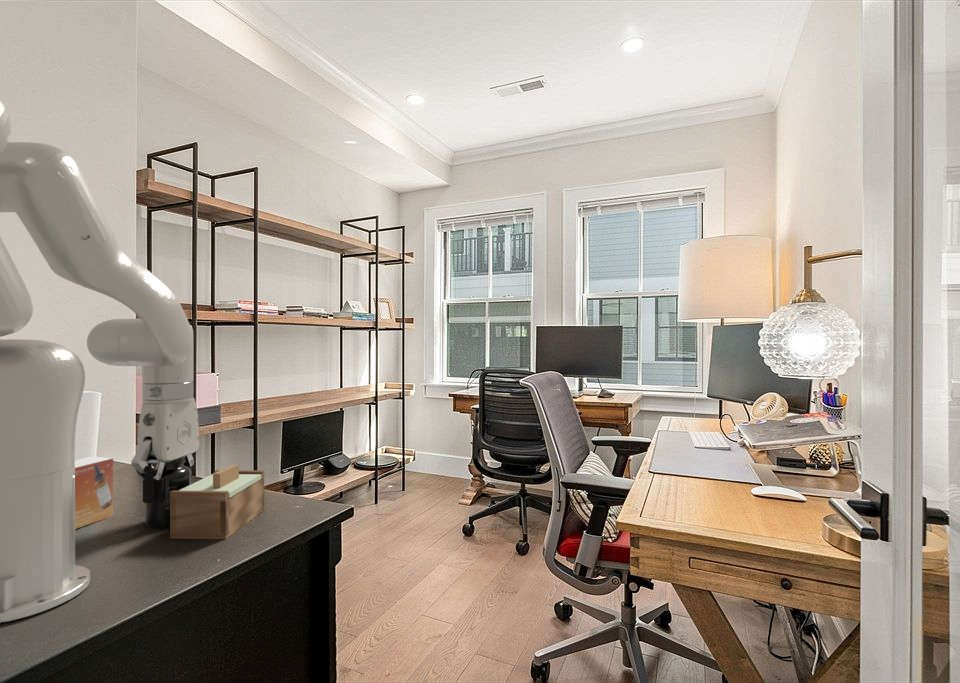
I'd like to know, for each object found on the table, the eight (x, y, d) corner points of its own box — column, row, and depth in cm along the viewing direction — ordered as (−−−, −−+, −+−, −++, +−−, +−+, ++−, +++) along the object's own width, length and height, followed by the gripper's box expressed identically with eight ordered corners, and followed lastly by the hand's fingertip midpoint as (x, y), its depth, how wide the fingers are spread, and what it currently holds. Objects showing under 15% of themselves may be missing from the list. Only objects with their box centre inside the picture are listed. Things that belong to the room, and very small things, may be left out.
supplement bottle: (136, 524, 83) (136, 454, 83) (176, 512, 89) (176, 446, 89) (159, 532, 80) (159, 459, 80) (199, 518, 86) (200, 450, 86)
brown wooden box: (225, 539, 77) (225, 492, 77) (170, 538, 78) (170, 492, 78) (264, 510, 90) (264, 470, 90) (216, 509, 91) (216, 470, 91)
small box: (68, 533, 80) (68, 469, 80) (41, 530, 81) (41, 467, 81) (114, 515, 88) (114, 457, 88) (89, 513, 89) (88, 455, 89)
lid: (229, 497, 78) (229, 478, 78) (174, 497, 79) (174, 477, 79) (261, 478, 89) (261, 461, 89) (213, 478, 90) (212, 460, 89)
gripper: (154, 399, 76) (155, 513, 76) (217, 387, 93) (218, 481, 93) (107, 398, 76) (107, 512, 76) (179, 387, 93) (179, 480, 94)
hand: (168, 494), depth 85 cm, fingers closed on supplement bottle, 6 cm apart
